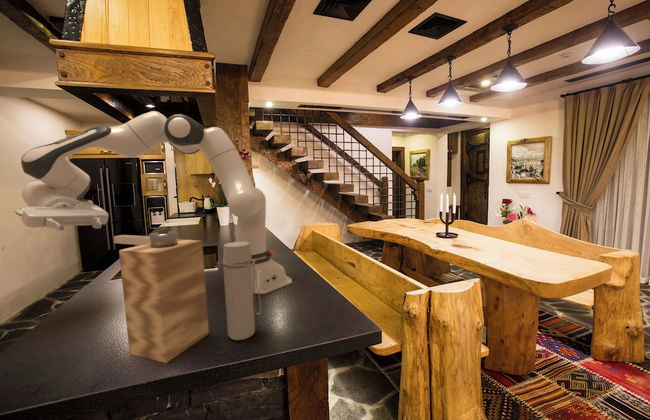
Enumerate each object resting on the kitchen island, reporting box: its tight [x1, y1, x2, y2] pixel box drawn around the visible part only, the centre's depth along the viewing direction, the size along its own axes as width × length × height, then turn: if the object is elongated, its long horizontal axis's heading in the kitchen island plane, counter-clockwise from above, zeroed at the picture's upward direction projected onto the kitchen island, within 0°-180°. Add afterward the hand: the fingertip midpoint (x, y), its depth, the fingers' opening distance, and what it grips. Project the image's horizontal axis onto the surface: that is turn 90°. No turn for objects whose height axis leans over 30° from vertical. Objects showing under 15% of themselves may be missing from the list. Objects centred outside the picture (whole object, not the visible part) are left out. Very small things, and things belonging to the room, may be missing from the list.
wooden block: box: [118, 238, 210, 364], centre depth 78 cm, size 12×14×26 cm
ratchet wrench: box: [113, 227, 178, 248], centre depth 78 cm, size 20×6×4 cm, turn 69°
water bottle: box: [222, 241, 262, 341], centre depth 81 cm, size 9×8×25 cm
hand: (80, 227), depth 88 cm, fingers open, 8 cm apart
